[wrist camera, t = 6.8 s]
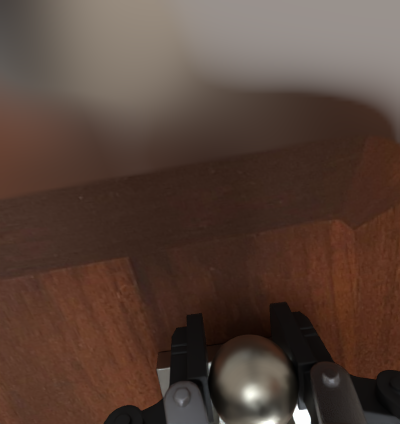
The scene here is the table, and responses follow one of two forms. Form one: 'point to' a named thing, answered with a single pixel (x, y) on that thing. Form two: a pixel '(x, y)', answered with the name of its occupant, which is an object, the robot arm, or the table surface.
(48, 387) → the table surface
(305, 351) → the robot arm
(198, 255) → the table surface
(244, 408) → the lever
